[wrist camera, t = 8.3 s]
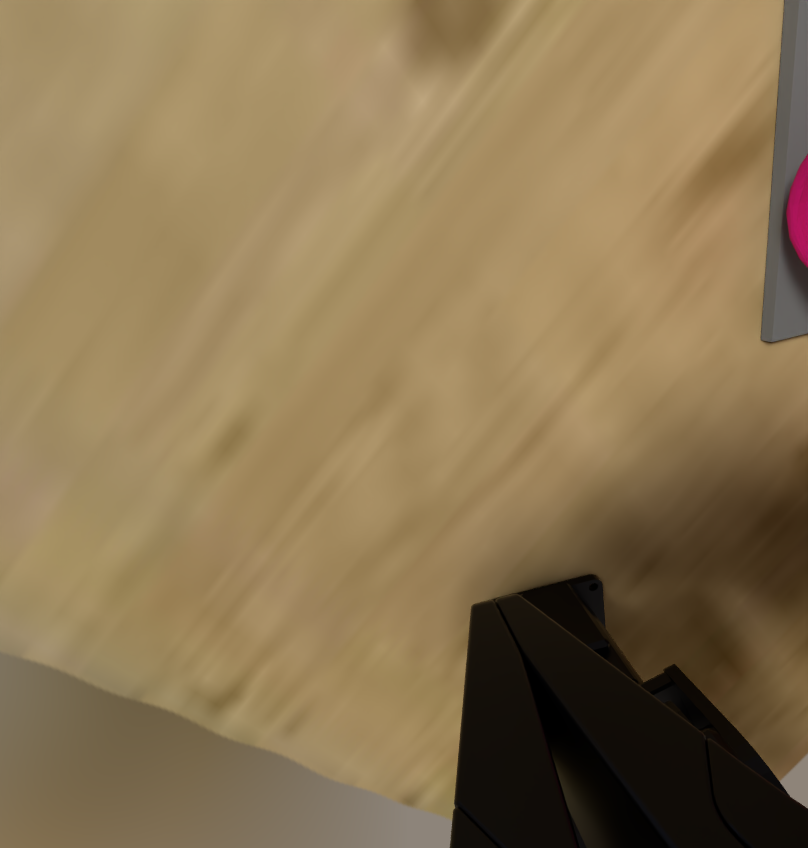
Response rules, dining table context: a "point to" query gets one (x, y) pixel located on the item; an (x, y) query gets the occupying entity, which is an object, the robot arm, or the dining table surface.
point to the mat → (788, 184)
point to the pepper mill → (799, 212)
